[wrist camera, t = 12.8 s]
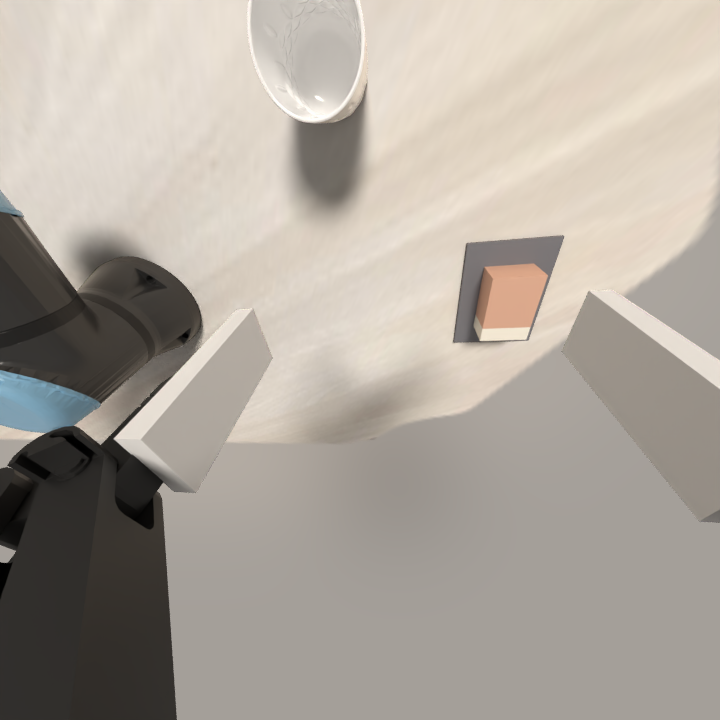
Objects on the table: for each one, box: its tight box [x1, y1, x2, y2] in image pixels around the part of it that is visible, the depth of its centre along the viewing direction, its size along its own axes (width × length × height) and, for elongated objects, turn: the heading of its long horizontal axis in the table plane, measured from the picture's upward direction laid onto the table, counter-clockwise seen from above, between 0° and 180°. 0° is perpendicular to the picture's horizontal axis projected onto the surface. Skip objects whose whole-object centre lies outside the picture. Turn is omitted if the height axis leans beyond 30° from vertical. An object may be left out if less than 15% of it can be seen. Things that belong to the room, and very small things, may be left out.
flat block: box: [473, 264, 548, 341], centre depth 35 cm, size 9×6×4 cm, turn 6°
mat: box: [454, 235, 564, 342], centre depth 37 cm, size 11×15×1 cm
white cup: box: [247, 0, 368, 123], centre depth 21 cm, size 8×8×10 cm
